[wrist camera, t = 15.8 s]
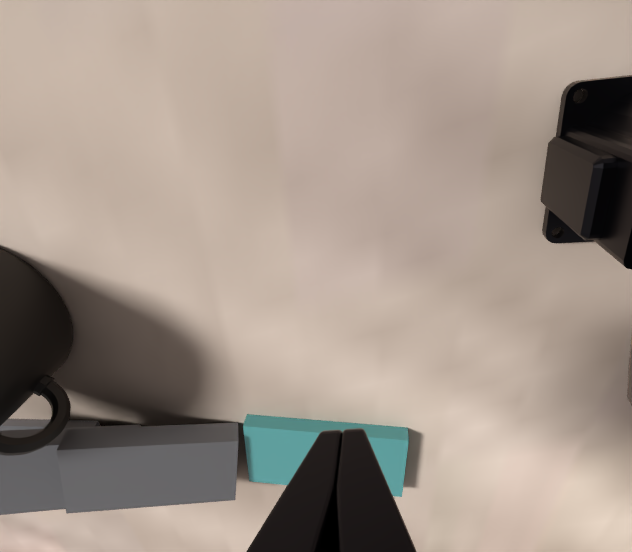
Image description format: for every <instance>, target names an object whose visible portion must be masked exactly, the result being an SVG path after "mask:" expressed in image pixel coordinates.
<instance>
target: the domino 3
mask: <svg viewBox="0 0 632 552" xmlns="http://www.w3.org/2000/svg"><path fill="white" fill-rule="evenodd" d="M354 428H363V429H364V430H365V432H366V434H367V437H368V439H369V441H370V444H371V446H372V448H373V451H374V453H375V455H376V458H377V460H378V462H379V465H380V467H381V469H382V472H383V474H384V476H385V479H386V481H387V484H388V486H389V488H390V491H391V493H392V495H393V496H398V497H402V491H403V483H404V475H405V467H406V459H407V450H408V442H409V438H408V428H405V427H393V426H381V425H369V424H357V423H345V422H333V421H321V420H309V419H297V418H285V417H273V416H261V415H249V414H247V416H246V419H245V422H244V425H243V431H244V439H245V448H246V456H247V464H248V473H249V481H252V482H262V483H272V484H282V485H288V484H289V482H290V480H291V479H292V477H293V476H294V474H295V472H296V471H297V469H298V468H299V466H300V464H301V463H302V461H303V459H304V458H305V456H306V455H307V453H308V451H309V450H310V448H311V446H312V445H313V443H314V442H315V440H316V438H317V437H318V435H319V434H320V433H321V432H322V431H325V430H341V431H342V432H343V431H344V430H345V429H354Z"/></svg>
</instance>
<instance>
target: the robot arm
mask: <svg viewBox="0 0 632 552" xmlns="http://www.w3.org/2000/svg"><path fill="white" fill-rule="evenodd" d="M579 89H582V91H583V96H582V98H581V99H580V100H579V101H577V102H574V101H573V95H574V93H575V92H576V91H577V90H579ZM541 202H542V203H543V204H544V205H545V206H546V209H545V216H544V222H543V229H542V231H543V235H544V237H545V238H546V239H547V240H548V241H550V242H551V243H572V242H592V241H595V242H596V243H597V244H599V245H600V246H601V247H602V248H603V249H605V250H606V251H607V252H608V253H609V254H610V255H612V256H613V257H614V258H615V259H616V260H618V261H619V262H620V263H621V264H622V265H624V266H625V267H626V268H628V269H632V75H629V76H619V77H610V78H600V79H591V80H581V81H576V82H572V83H571V84H570V85H568V86H567V87H566V89H565V90H564V91H563V94H562V98H561V105H560V112H559V119H558V126H557V133H556V137H554V138H553V139H552V140H551V141H550V142H549V143H548V150H547V157H546V164H545V172H544V179H543V186H542V193H541ZM557 227H561V230H560V232H559V233H557V234H555V235H552V231H553V230H554V229H555V228H557ZM627 397H628V399H629V401H630V403H631V405H632V338H631V350H630V361H629V373H628V394H627ZM247 552H416V549H415V547H414V544H413V542H412V540H411V537H410V535H409V533H408V530H407V528H406V526H405V523H404V521H403V519H402V516H401V514H400V512H399V509H398V507H397V505H396V502H395V500H394V498H393V495H392V493H391V491H390V488H389V486H388V484H387V481H386V479H385V476H384V474H383V472H382V469H381V467H380V465H379V462H378V460H377V458H376V455H375V453H374V451H373V448H372V446H371V444H370V441H369V439H368V437H367V434H366V432H365V430H364V429H363V428H354V429H345V430H344V431H343V432H342V431H341V430H325V431H322V432H321V433H320V434H319V435H318V437H317V438H316V440H315V442H314V443H313V445H312V446H311V448H310V450H309V451H308V453H307V455H306V456H305V458H304V459H303V461H302V463H301V464H300V466H299V468H298V469H297V471H296V472H295V474H294V476H293V477H292V479H291V480H290V482H289V484H288V485H287V487H286V489H285V490H284V492H283V493H282V495H281V497H280V498H279V500H278V502H277V503H276V505H275V506H274V508H273V510H272V511H271V513H270V514H269V516H268V518H267V519H266V521H265V523H264V524H263V526H262V527H261V529H260V531H259V532H258V534H257V536H256V537H255V539H254V540H253V542H252V544H251V545H250V547H249V548H248V550H247Z"/></svg>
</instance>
